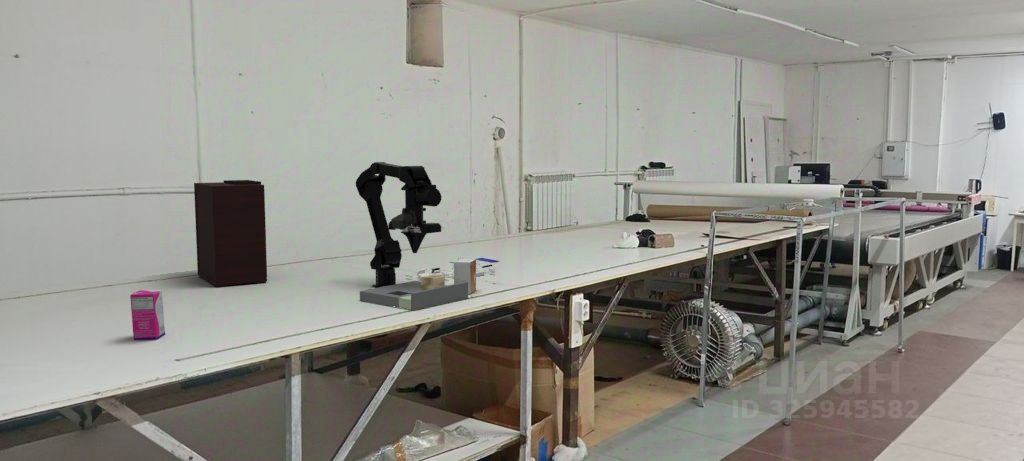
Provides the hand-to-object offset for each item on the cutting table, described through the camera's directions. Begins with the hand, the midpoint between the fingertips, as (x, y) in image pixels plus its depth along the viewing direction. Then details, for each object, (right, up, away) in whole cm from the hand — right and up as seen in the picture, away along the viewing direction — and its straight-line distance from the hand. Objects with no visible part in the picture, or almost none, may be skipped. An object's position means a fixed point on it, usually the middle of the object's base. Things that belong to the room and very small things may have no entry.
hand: (414, 253), depth 248 cm
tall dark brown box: (-67, -10, +25) cm, 73 cm away
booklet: (+13, -7, +67) cm, 69 cm away
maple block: (+7, -12, -15) cm, 20 cm away
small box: (+16, -13, +3) cm, 21 cm away
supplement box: (-58, -19, -58) cm, 85 cm away
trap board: (+1, -14, -9) cm, 17 cm away
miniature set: (+11, -10, +33) cm, 36 cm away
